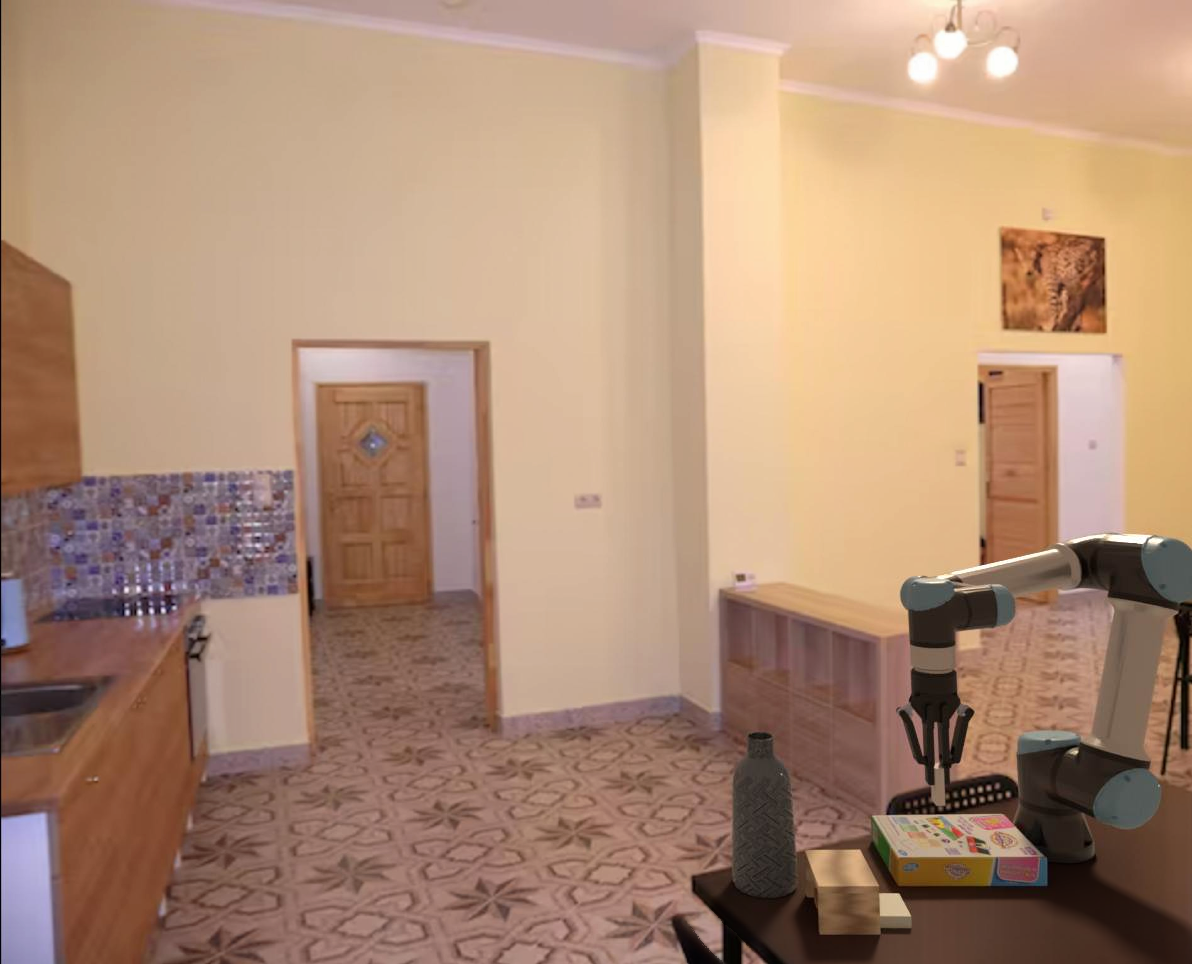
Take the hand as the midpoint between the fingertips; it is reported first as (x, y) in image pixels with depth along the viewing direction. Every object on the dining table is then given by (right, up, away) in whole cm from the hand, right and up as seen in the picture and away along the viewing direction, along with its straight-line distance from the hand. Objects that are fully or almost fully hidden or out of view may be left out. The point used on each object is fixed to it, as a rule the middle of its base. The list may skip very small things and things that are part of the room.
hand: (938, 802), depth 155 cm
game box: (-3, -16, +20) cm, 26 cm away
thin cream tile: (-12, -20, 0) cm, 24 cm away
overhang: (-16, -20, +1) cm, 26 cm away
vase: (-28, -20, +13) cm, 37 cm away
